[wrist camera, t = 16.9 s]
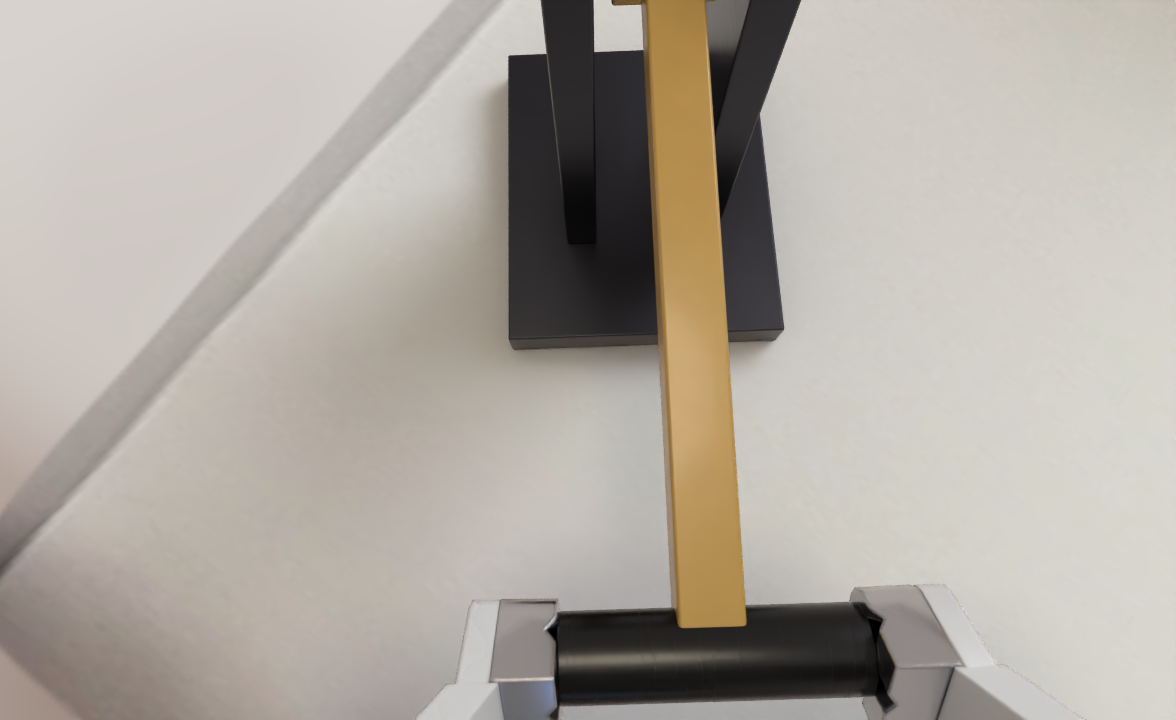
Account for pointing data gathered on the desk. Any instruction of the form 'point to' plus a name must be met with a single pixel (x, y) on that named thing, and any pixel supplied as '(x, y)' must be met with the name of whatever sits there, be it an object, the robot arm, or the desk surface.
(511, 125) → the bolt bracket
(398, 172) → the desk surface
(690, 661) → the bolt lever
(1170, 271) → the desk surface
